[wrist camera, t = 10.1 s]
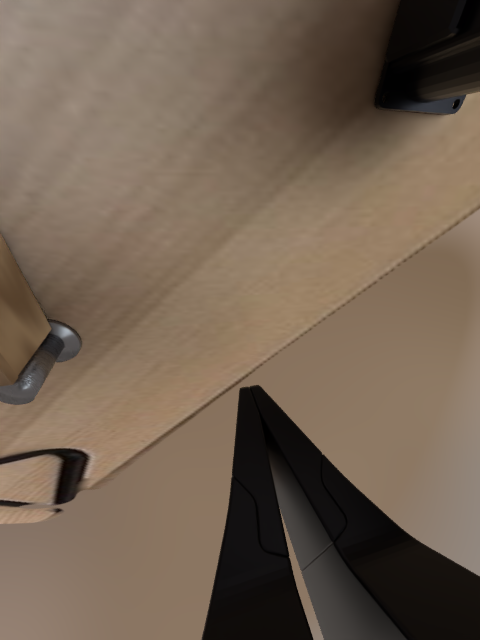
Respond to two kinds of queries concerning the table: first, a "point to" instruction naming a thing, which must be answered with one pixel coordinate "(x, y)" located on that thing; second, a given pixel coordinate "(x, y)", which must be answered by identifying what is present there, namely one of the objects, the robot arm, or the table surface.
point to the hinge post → (42, 363)
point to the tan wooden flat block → (17, 319)
